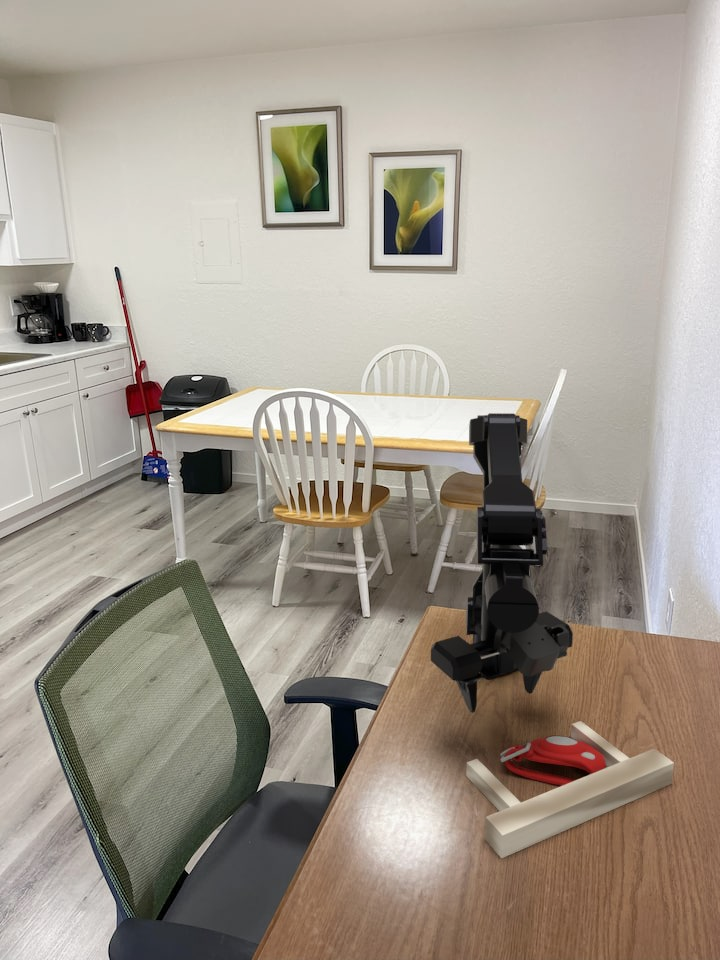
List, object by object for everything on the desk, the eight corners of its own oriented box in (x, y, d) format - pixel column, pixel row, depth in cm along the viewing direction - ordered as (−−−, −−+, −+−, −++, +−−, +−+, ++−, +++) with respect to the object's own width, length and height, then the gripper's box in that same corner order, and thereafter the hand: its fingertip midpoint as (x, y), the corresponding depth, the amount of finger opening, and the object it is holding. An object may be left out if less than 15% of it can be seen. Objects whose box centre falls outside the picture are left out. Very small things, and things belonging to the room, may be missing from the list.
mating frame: (438, 786, 89) (438, 765, 88) (596, 727, 99) (598, 708, 98) (501, 858, 78) (502, 835, 77) (671, 783, 88) (674, 762, 88)
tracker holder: (555, 724, 99) (620, 745, 91) (554, 758, 98) (620, 781, 90) (491, 740, 91) (556, 763, 83) (491, 776, 91) (556, 803, 83)
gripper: (481, 639, 82) (477, 758, 87) (607, 603, 90) (598, 714, 94) (428, 600, 92) (427, 708, 96) (547, 570, 99) (541, 672, 104)
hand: (500, 701), depth 97 cm, fingers open, 9 cm apart
